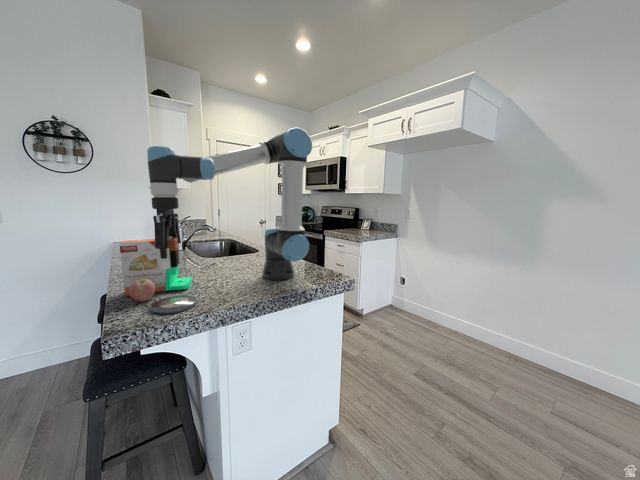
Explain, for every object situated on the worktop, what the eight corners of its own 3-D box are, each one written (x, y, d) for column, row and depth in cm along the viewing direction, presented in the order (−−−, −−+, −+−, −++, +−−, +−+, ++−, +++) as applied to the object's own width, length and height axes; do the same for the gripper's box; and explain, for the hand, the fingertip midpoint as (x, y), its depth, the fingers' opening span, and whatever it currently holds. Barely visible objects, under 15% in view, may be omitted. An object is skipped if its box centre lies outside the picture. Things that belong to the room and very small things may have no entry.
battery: (162, 268, 86) (159, 238, 84) (165, 264, 92) (162, 235, 90) (177, 267, 87) (174, 237, 86) (179, 262, 93) (177, 235, 92)
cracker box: (124, 297, 100) (118, 242, 97) (128, 292, 105) (122, 240, 102) (167, 291, 106) (162, 240, 103) (168, 287, 111) (163, 238, 108)
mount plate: (201, 297, 100) (201, 294, 99) (189, 312, 86) (189, 309, 86) (161, 299, 97) (161, 296, 97) (142, 315, 84) (142, 312, 83)
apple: (126, 305, 92) (123, 283, 91) (135, 297, 99) (133, 277, 98) (151, 303, 94) (149, 282, 92) (159, 296, 101) (157, 275, 100)
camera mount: (186, 291, 106) (184, 266, 105) (165, 293, 105) (163, 268, 103) (193, 282, 118) (191, 260, 116) (174, 283, 116) (172, 261, 114)
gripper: (165, 197, 95) (170, 258, 99) (136, 196, 75) (144, 273, 79) (187, 197, 96) (191, 258, 100) (164, 196, 77) (171, 272, 80)
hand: (170, 264), depth 89 cm, fingers closed on battery, 7 cm apart
